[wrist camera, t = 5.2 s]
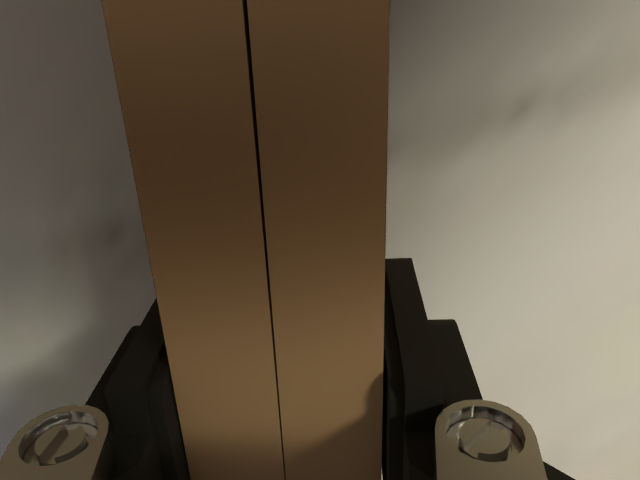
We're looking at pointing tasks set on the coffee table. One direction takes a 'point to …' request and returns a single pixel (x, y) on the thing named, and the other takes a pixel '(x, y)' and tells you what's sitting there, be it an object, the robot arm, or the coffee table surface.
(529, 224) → the coffee table surface
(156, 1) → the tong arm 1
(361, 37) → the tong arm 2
